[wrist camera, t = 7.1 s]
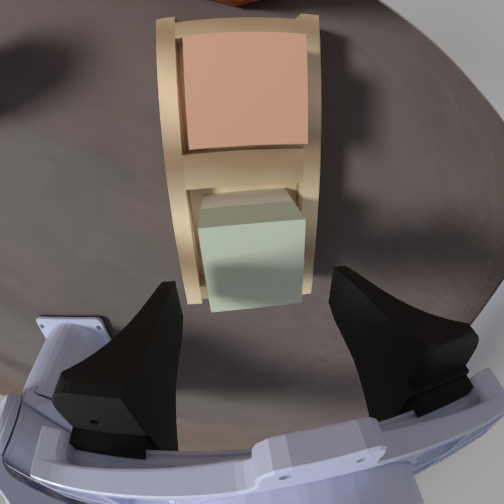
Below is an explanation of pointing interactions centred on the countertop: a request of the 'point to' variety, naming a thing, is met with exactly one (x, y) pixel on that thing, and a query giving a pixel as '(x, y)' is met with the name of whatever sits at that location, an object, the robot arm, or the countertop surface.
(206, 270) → the two tone brick
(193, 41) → the terracotta brick
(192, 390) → the countertop surface
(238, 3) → the bread
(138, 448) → the robot arm
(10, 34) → the countertop surface
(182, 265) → the socket board
